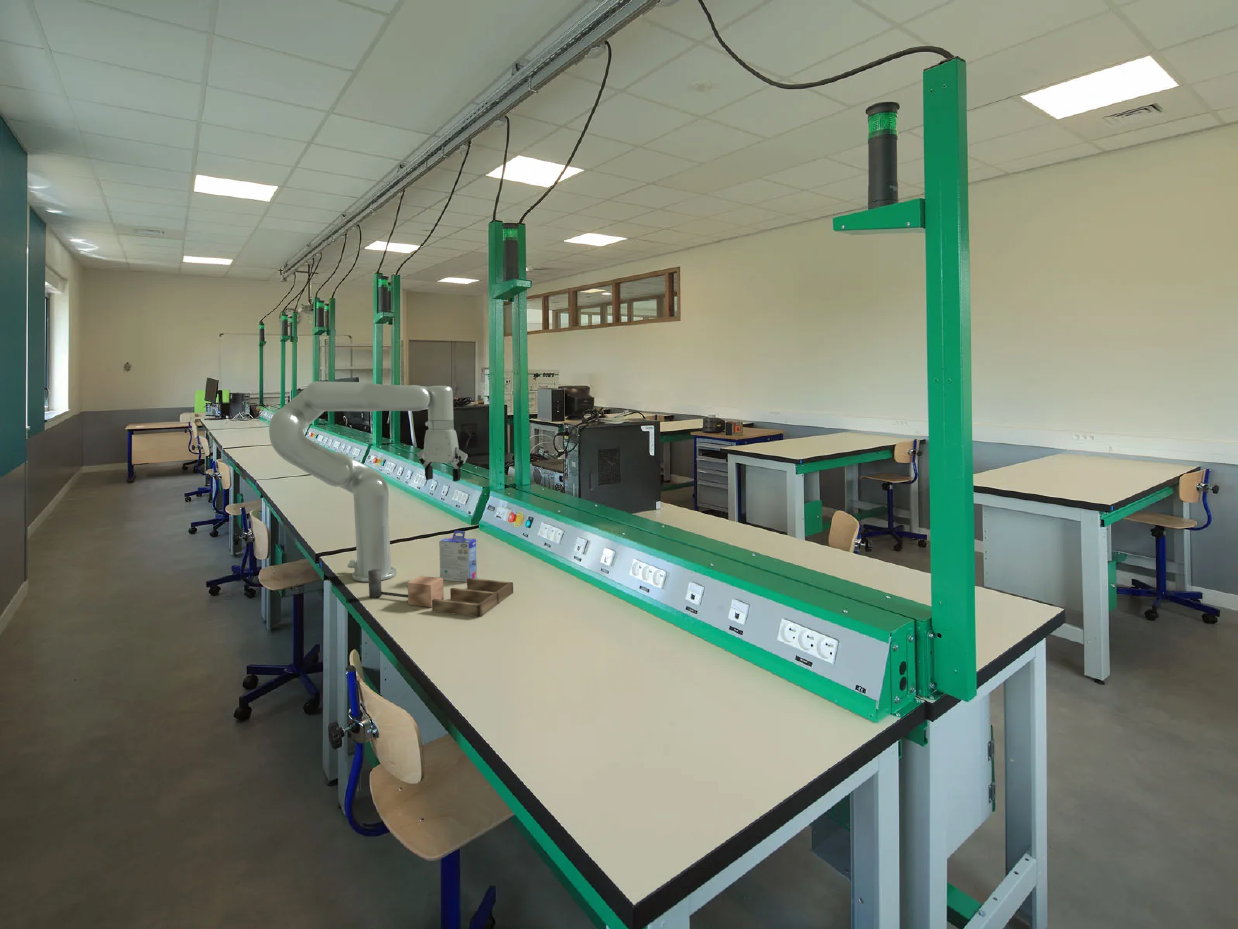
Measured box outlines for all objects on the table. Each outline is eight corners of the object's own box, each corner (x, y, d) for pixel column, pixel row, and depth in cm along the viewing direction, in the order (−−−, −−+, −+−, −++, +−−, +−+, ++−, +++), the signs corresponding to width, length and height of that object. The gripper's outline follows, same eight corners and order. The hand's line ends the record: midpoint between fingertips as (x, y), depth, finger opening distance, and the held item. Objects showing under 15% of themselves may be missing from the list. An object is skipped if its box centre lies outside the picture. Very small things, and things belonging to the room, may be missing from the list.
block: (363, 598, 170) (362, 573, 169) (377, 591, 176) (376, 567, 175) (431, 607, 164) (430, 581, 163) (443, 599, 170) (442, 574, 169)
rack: (432, 611, 162) (431, 600, 162) (468, 587, 180) (468, 577, 180) (480, 617, 158) (480, 605, 158) (513, 592, 176) (513, 582, 176)
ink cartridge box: (478, 577, 190) (476, 530, 188) (470, 583, 185) (469, 535, 183) (448, 575, 192) (446, 529, 190) (439, 580, 186) (437, 533, 184)
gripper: (409, 425, 192) (411, 480, 194) (459, 427, 187) (461, 483, 190) (423, 424, 199) (425, 477, 201) (472, 425, 194) (473, 479, 197)
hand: (442, 480), depth 196 cm, fingers open, 9 cm apart
